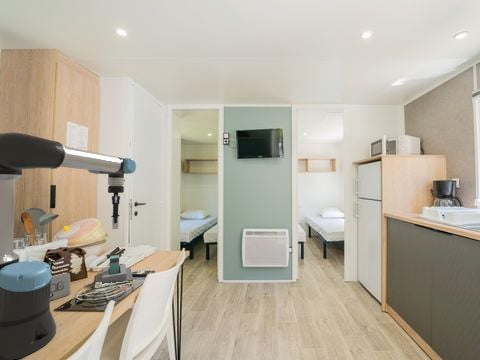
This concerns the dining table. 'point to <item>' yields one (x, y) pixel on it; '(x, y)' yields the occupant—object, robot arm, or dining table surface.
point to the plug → (114, 264)
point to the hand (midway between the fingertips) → (115, 228)
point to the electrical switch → (60, 286)
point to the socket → (114, 275)
